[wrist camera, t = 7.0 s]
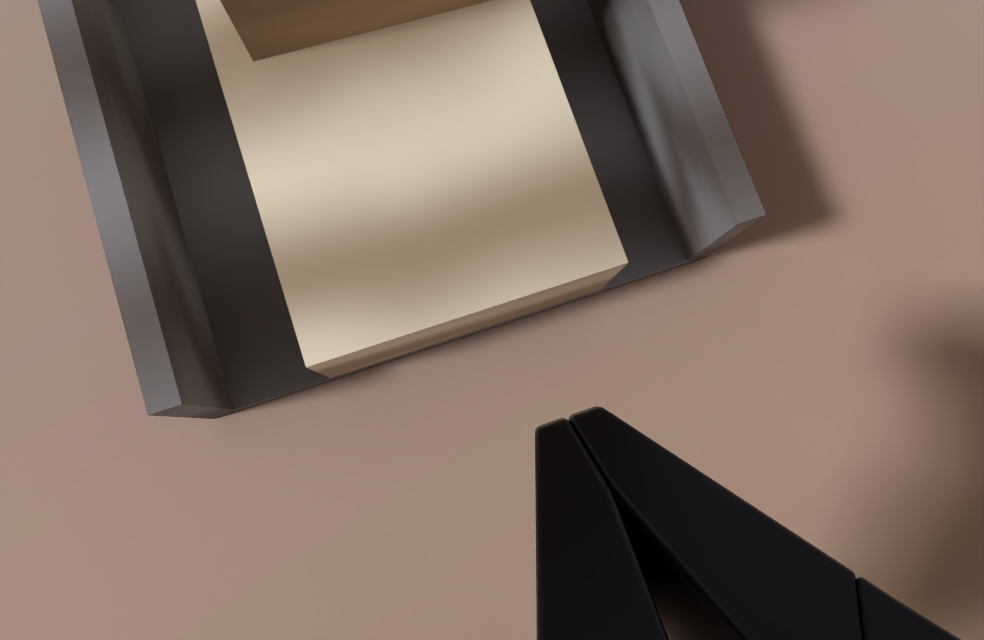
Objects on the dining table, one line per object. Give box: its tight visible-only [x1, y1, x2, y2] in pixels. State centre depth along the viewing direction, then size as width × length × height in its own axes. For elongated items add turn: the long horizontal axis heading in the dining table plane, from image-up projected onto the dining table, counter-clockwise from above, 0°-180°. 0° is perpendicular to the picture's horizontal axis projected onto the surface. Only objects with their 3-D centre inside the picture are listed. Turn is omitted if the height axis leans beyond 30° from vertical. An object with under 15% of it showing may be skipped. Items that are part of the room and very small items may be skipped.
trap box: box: [38, 0, 766, 419], centre depth 19 cm, size 18×16×8 cm
